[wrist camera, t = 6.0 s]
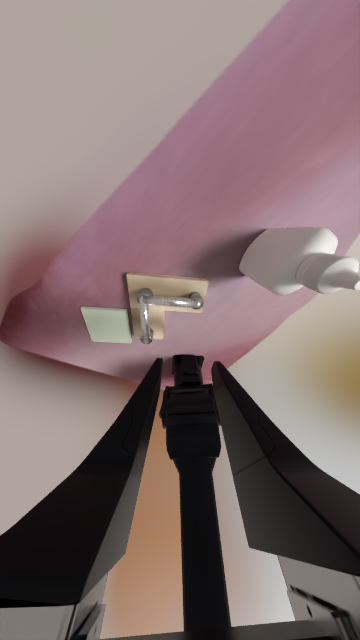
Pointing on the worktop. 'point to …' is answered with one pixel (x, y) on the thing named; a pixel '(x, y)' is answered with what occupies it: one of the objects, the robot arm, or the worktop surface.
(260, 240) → the eye dropper bottle
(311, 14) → the worktop surface
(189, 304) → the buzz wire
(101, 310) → the pad
